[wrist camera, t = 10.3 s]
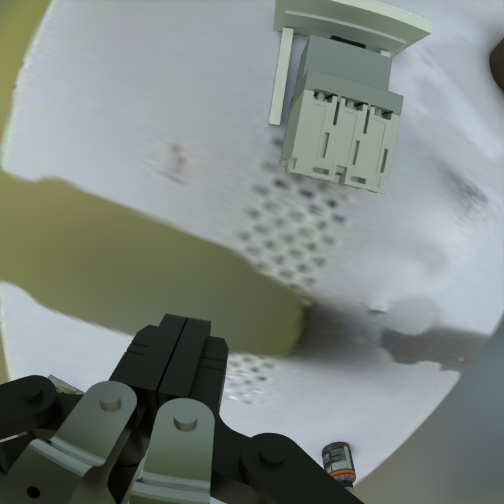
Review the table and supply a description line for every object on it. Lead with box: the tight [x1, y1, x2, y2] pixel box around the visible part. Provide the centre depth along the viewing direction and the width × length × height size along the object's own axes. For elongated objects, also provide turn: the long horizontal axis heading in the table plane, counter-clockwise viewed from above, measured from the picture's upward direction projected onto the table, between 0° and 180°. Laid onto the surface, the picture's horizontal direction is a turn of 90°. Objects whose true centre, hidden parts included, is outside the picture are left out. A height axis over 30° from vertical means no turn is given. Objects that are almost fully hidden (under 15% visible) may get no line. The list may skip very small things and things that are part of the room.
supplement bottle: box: [322, 443, 356, 492], centre depth 48 cm, size 6×6×11 cm
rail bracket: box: [269, 0, 431, 126], centre depth 26 cm, size 17×15×11 cm
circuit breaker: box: [280, 34, 403, 194], centre depth 27 cm, size 8×14×15 cm, turn 170°
